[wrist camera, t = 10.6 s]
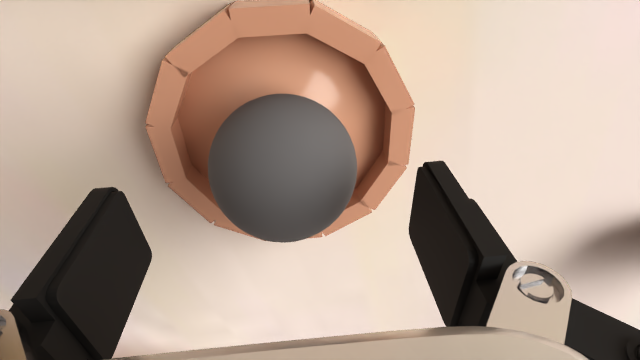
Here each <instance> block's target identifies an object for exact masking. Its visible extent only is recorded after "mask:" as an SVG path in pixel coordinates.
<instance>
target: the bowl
mask: <svg viewBox="0 0 640 360" xmlns="http://www.w3.org/2000/svg"><path fill="white" fill-rule="evenodd" d="M271 94H294V95H299V96H303V97H306V98H309V99H311V100H314V101H316V102H317V103H319V104H321V105H323V106H324V107H326V108H327V109H328V110H330V111H331V112H332V113H333V114H334V115H335V116H336V117H337V118H338V119H339V120H340V121H341V123H342V124H343V125H344V127H345V128H346V130H347V132H348V133H349V135H350V138H351V140H352V143H353V145H354V148H355V153H356V158H357V177H356V184H355V188H354V191H353V194H352V197H351V199H350V201H349V203H348V205H347V206H346V208H345V209H344V211H343V212H342V214H341V215H340V216H339V217H338V218H337V219H336V220H335V221H334V222H333V223H332V224H331V225H330V226H329V227H327V228H326V229H325V230H323V231H321V232H320V233H318V234H316V235H314V236H311V237H309V238H317V237H322V232H323V234H324V235H325V236H327V235H329V234H331V233H333V232H335V231H337V230H339V229H340V228H342V227H344V226H346V225H348V224H350V223H352V222H354V221H356V220H358V219H360V218H362V217H364V216H366V215H368V214H370V213H372V210H371V209H374V210H375V209H376V208H377V207H378V205H379V204H380V203H381V201H382V200H383V199H384V197H385V196H386V195H387V193H388V192H389V191H390V189H391V188H392V187H393V185H394V184H395V183H396V181H397V180H398V179H399V177H400V176H401V175H402V174H403V172H404V171H405V170H406V168H407V167H406V165H407V164H408V162H409V154H410V146H411V137H412V129H413V121H414V112H415V108H414V106H413V105H414V103H413V101H412V99H411V97H410V95H409V93H408V91H407V89H406V87H405V85H404V83H403V81H402V79H401V77H400V75H399V73H398V71H397V69H396V67H395V65H394V63H393V61H392V59H391V57H390V55H389V53H388V51H387V49H386V48H385V46H384V45H383V43H382V42H381V41H380V40H379V39H378V38H377V37H376V36H375V35H374V34H373V32H371V31H369V30H368V29H366V28H364V27H362V26H361V25H359V24H357V23H355V22H354V21H352V20H350V19H348V18H346V17H345V16H343V15H341V14H339V13H338V12H336V11H334V10H332V9H331V8H329V7H327V6H325V5H324V4H322V3H320V2H318V1H317V0H311V2H309V1H308V0H246V1H235V2H234V3H233V4H231V3H230V4H228V5H227V6H226V7H225V8H223V9H222V10H221V11H219V12H218V13H217V14H216V15H214V16H213V17H212V18H210V19H209V20H208V21H207V22H205V23H204V24H203V25H201V26H200V27H199V28H198V29H196V30H195V31H194V32H193V33H191V34H190V35H189V36H187V37H186V38H185V39H184V40H182V41H181V42H180V43H178V44H177V45H176V46H175V47H174V48H173V49H172V50H171V51H170V52H169V53H168V54H167V55H166V56H165V58H164V59H163V60H162V63H161V66H160V70H159V74H158V77H157V81H156V85H155V89H154V92H153V96H152V100H151V104H150V107H149V111H148V115H147V118H146V122H145V123H146V124H148V125H147V126H146V130H147V133H148V135H149V138H150V141H151V144H152V146H153V149H154V152H155V155H156V157H157V160H158V163H159V166H160V168H161V171H162V174H163V177H164V179H165V182H166V183H169V185H168V187H170V188H171V189H172V190H173V191H174V192H175V193H176V194H178V195H179V196H180V197H181V198H182V199H183V200H185V201H186V202H187V203H188V204H189V205H190V206H191V207H193V208H194V209H195V210H196V211H197V212H198V213H199V214H201V215H202V216H203V217H204V218H205V219H206V220H207V221H209V222H210V223H212V222H213V221H215V223H214V225H215V226H219V227H222V228H225V229H228V230H232V231H235V232H238V233H241V234H245V235H248V236H251V237H254V236H252V235H250V234H248V233H246V232H244V231H242V230H241V229H239V228H238V227H237V226H235V225H234V224H233V223H232V222H231V221H230V220H229V219H228V218H227V217H226V216H225V215H224V213H223V212H222V211H221V209H220V208H219V206H218V204H217V202H216V200H215V199H214V196H213V194H212V191H211V187H210V183H209V178H208V158H209V152H210V148H211V145H212V141H213V139H214V137H215V135H216V133H217V131H218V129H219V128H220V126H221V125H222V123H223V122H224V121H225V120H226V119H227V118H228V117H229V115H230V114H231V113H233V112H234V111H235V110H236V109H237V108H239V107H240V106H242V105H243V104H245V103H247V102H249V101H251V100H253V99H256V98H258V97H262V96H266V95H271ZM254 238H256V237H254ZM258 239H259V238H258ZM261 240H262V239H261ZM264 241H266V240H264Z"/></svg>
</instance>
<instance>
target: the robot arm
mask: <svg viewBox="0 0 640 360" xmlns="http://www.w3.org/2000/svg"><path fill="white" fill-rule="evenodd" d="M409 235H410V239H411V241H412V244H413V246H414V249H415V251H416V254H417V256H418V259H419V261H420V264H421V266H422V269H423V271H424V274H425V276H426V279H427V281H428V284H429V286H430V289H431V291H432V294H433V296H434V299H435V301H436V304H437V306H438V309H439V311H440V314H441V316H442V319H443V321H444V324H445V325H446V327H438V328H425V329H412V330H398V331H386V332H376V333H365V334H354V335H344V336H333V337H322V338H312V339H301V340H291V341H281V342H270V343H260V344H250V345H240V346H230V347H220V348H210V349H200V350H190V351H181V352H171V353H161V354H152V355H142V356H132V357H123V358H113V359H111V358H112V356H113V354H114V352H115V349H116V347H117V344H118V342H119V339H120V337H121V334H122V332H123V329H124V327H125V324H126V322H127V319H128V317H129V315H130V312H131V310H132V307H133V305H134V302H135V300H136V297H137V295H138V292H139V290H140V287H141V285H142V282H143V280H144V277H145V275H146V272H147V270H148V267H149V265H150V262H151V259H152V253H151V249H150V247H149V245H148V243H147V241H146V239H145V236H144V234H143V232H142V230H141V228H140V226H139V224H138V222H137V220H136V217H135V215H134V213H133V211H132V209H131V207H130V205H129V203H128V201H127V198H126V196H125V194H124V193H123V192H122V191H118V189H116V188H115V187H108V188H95V189H93V190H92V191H91V192H90V193H89V194H88V196H87V197H86V198H85V200H84V201H83V203H82V204H81V205H80V207H79V208H78V209H77V211H76V212H75V213H74V215H73V216H72V218H71V219H70V220H69V222H68V223H67V224H66V226H65V227H64V228H63V230H62V231H61V232H60V234H59V235H58V237H57V238H56V239H55V241H54V242H53V243H52V245H51V246H50V247H49V249H48V250H47V251H46V253H45V254H44V256H43V257H42V258H41V260H40V261H39V262H38V264H37V265H36V266H35V268H34V269H33V270H32V272H31V273H30V275H29V276H28V277H27V279H26V280H25V281H24V283H23V284H22V285H21V287H20V288H19V289H18V291H17V292H16V294H15V295H14V296H13V298H12V299H11V301H12V302H13V303H14V304H13V306H12V307H11V308H10V310H9V311H7V310H0V360H640V330H638V329H636V328H634V327H632V326H630V325H628V324H626V323H624V322H621V321H619V320H617V319H615V318H613V317H611V316H609V315H607V314H604V313H602V312H600V311H598V310H596V309H594V308H592V307H589V306H587V305H585V304H583V303H581V302H579V301H577V300H575V299H572V293H571V289H570V287H569V285H568V283H567V282H566V281H565V280H564V278H563V277H562V276H561V275H559V274H558V273H557V272H555V271H554V270H553V269H551V268H549V267H547V266H545V265H543V264H539V263H536V262H530V261H521V262H517V260H516V259H515V258H514V256H513V255H512V253H511V252H510V250H509V249H508V247H507V246H506V245H505V243H504V242H503V240H502V239H501V237H500V236H499V234H498V233H497V232H496V230H495V229H494V227H493V226H492V224H491V223H490V221H489V220H488V219H487V217H486V216H485V214H484V213H483V211H482V210H481V208H480V207H479V206H478V204H477V203H476V202H475V201H474V200H473V199H469V198H468V196H467V195H466V193H465V192H464V190H463V189H462V188H461V186H460V185H459V183H458V182H457V180H456V179H455V177H454V176H453V174H452V173H451V171H450V170H449V168H448V167H447V165H446V164H445V163H444V161H434V162H425V163H424V164H423V167H419V168H418V170H417V176H416V183H415V190H414V196H413V203H412V210H411V216H410V223H409Z"/></svg>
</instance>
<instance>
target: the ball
mask: <svg viewBox="0 0 640 360" xmlns="http://www.w3.org/2000/svg"><path fill="white" fill-rule="evenodd" d="M356 177H357V158H356V153H355V148H354V145H353V143H352V140H351V138H350V135H349V133H348V132H347V130H346V128H345V127H344V125H343V124H342V123H341V121H340V120H339V119H338V118H337V117H336V116H335V115H334V114H333V113H332V112H331V111H330V110H328V109H327V108H326V107H324V106H323V105H321V104H319V103H317V102H316V101H314V100H311V99H309V98H306V97H303V96H299V95H294V94H271V95H266V96H262V97H258V98H256V99H253V100H251V101H249V102H247V103H245V104H243V105H242V106H240V107H239V108H237V109H236V110H235V111H234V112H233V113H231V114H230V115H229V117H228V118H227V119H226V120H225V121H224V122H223V123H222V125H221V126H220V128H219V129H218V131H217V133H216V135H215V137H214V139H213V141H212V145H211V148H210V152H209V158H208V178H209V183H210V187H211V191H212V194H213V196H214V199H215V200H216V202H217V204H218V206H219V208H220V209H221V211H222V212H223V213H224V215H225V216H226V217H227V218H228V219H229V220H230V221H231V222H232V223H233V224H234V225H235V226H237V227H238V228H239V229H241V230H242V231H244V232H246V233H248V234H250V235H252V236H254V237H256V238H259V239H262V240H266V241H272V242H294V241H299V240H303V239H306V238H309V237H311V236H314V235H316V234H318V233H320V232H321V231H323V230H325V229H326V228H327V227H329V226H330V225H331V224H332V223H333V222H334V221H335V220H336V219H337V218H338V217H339V216H340V215H341V214H342V212H343V211H344V209H345V208H346V206H347V205H348V203H349V201H350V199H351V197H352V194H353V191H354V188H355V184H356Z"/></svg>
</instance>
